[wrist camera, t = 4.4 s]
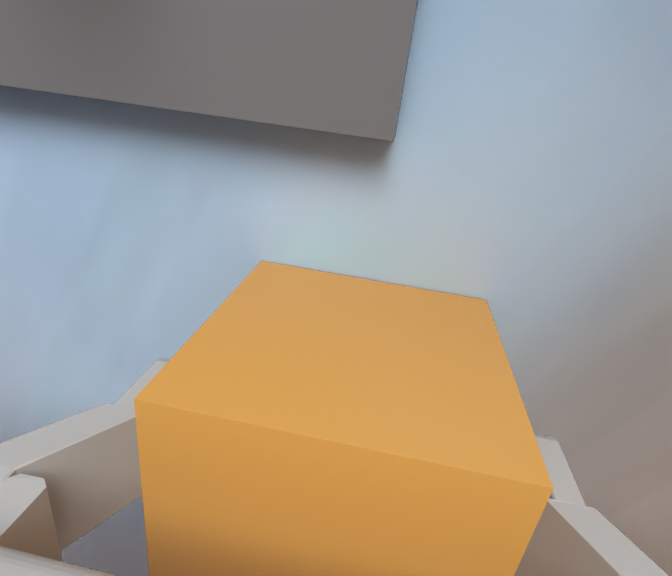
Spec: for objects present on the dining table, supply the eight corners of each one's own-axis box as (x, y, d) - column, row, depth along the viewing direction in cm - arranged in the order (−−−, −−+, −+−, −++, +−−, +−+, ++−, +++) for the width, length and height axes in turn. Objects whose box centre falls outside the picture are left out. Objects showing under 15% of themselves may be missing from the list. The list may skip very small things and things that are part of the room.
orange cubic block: (436, 470, 12) (451, 713, 7) (252, 431, 12) (154, 634, 7) (486, 300, 9) (553, 488, 5) (261, 260, 10) (133, 399, 5)
